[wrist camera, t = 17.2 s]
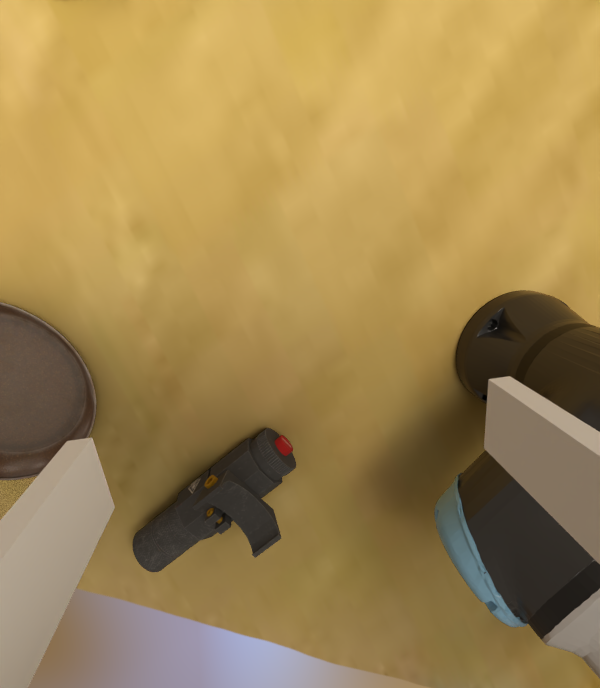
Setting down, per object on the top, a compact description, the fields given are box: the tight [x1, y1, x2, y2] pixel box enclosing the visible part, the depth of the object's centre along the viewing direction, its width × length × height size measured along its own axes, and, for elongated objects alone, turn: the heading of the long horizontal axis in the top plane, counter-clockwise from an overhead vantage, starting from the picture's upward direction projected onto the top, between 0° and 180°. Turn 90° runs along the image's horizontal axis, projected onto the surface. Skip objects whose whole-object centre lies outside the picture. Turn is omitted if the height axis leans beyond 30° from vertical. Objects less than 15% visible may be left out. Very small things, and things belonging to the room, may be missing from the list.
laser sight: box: [133, 428, 296, 572], centre depth 45 cm, size 10×22×10 cm, turn 129°
